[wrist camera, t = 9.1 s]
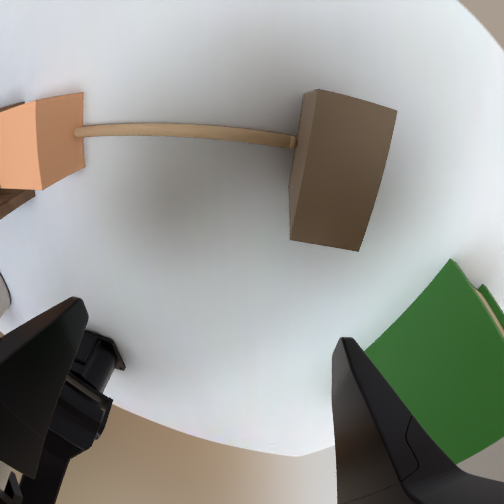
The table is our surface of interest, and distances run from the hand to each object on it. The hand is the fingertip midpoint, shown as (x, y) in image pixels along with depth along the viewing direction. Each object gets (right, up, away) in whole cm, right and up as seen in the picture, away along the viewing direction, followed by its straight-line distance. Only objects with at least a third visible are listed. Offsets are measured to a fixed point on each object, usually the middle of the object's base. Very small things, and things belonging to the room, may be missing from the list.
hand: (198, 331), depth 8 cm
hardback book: (+18, -6, +15) cm, 24 cm away
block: (-5, +11, +7) cm, 14 cm away
